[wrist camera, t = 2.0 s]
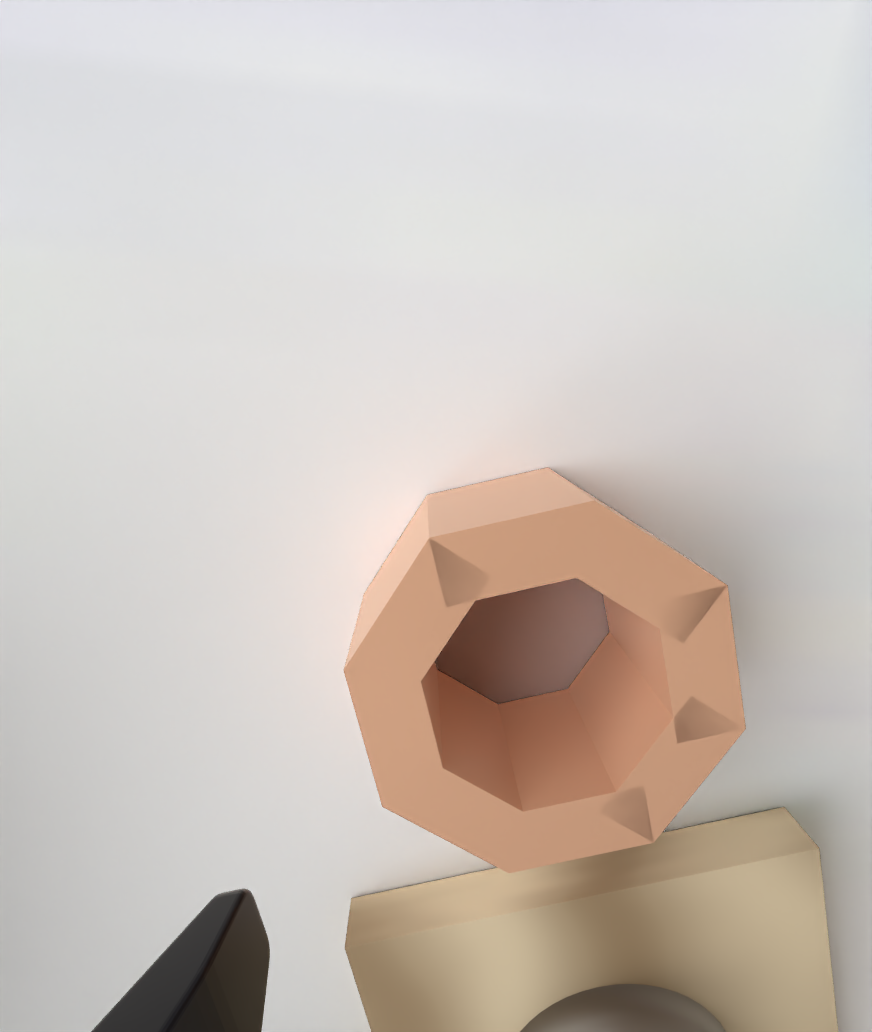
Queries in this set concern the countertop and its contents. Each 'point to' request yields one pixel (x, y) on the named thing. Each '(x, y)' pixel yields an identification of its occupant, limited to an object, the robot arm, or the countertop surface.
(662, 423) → the countertop surface
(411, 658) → the ring
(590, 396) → the countertop surface
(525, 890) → the post stand
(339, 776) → the countertop surface
